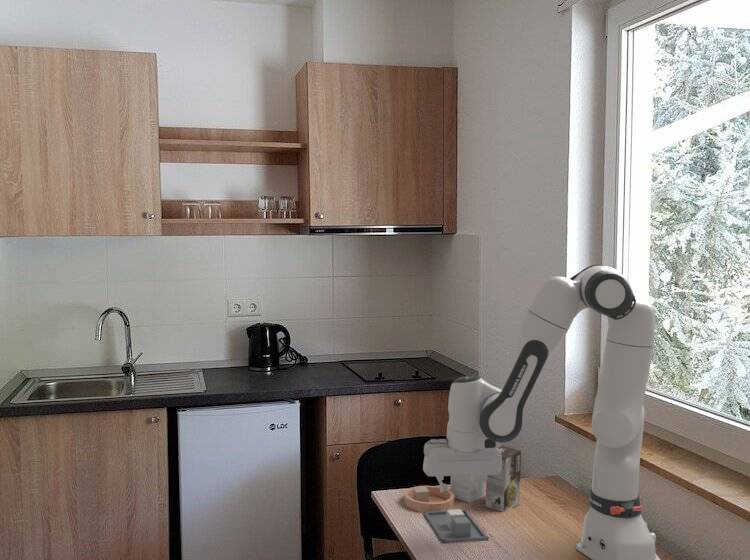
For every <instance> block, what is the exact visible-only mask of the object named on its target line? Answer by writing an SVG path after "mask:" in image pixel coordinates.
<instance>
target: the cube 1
mask: <svg viewBox="0 0 750 560" xmlns="http://www.w3.org/2000/svg"><path fill="white" fill-rule="evenodd" d="M416 487H417V486H416ZM413 499H414V500H417V501H421V502H428V503H429V490H428V489H427V488H426V487H417V488H413Z"/></svg>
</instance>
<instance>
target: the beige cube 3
mask: <svg viewBox="0 0 750 560" xmlns="http://www.w3.org/2000/svg"><path fill="white" fill-rule="evenodd" d="M461 510H462V509H461V508H459V509H458V508H456V509H450V510H447V516H446V525H447V526H448V528H449V529H450V530H452V525H453V518H463V517H464V516H465V514H464V513H463V512H462V511H461Z"/></svg>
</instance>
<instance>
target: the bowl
mask: <svg viewBox="0 0 750 560" xmlns="http://www.w3.org/2000/svg"><path fill="white" fill-rule="evenodd" d="M417 487H426V488H427V489H428V490H429V503H428V502H421V501H417V500H414V499H413V488H417ZM403 498H404V499H403V500H404V501H403V503H404V505H405V506H406V507H407V508H408V509H410V510H413V511H416V512H420V513H424V512H433V511H447V510H453V508H454V506H455V498H454V494H453V493H452V492H451V491H450V489H447V492H443V493H441V491H440V486H436V485H435V486H434V485H418V486H413V487H409V488H408V489H406V490H405V491H404V493H403Z"/></svg>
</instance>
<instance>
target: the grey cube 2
mask: <svg viewBox="0 0 750 560" xmlns="http://www.w3.org/2000/svg"><path fill="white" fill-rule="evenodd" d="M452 533H453V535H454V536H455V538H467V537H471V522H470V521H469V519H468V518H467V517H463V518H453V525H452Z"/></svg>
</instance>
